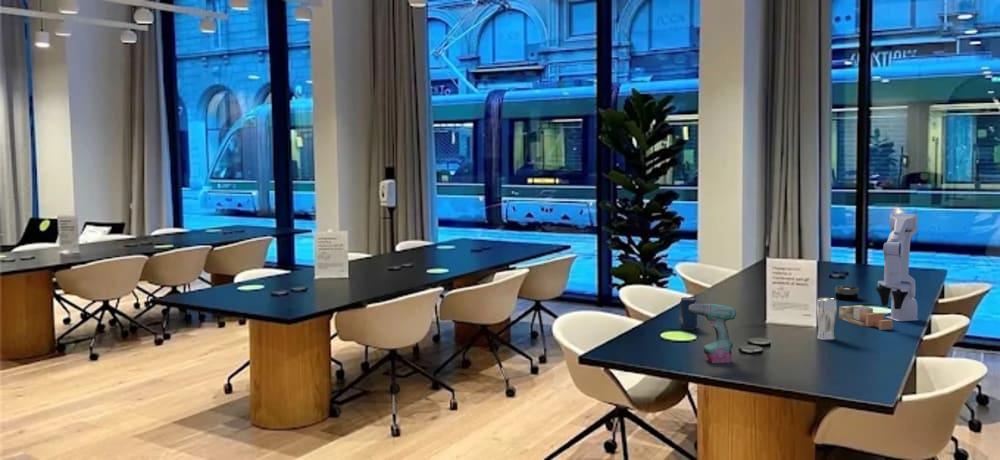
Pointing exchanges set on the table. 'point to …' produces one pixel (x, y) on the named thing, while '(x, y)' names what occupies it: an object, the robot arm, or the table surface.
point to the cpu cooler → (846, 293)
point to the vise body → (849, 314)
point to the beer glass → (826, 318)
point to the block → (861, 313)
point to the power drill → (717, 330)
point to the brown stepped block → (878, 321)
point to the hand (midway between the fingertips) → (891, 307)
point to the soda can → (687, 313)
